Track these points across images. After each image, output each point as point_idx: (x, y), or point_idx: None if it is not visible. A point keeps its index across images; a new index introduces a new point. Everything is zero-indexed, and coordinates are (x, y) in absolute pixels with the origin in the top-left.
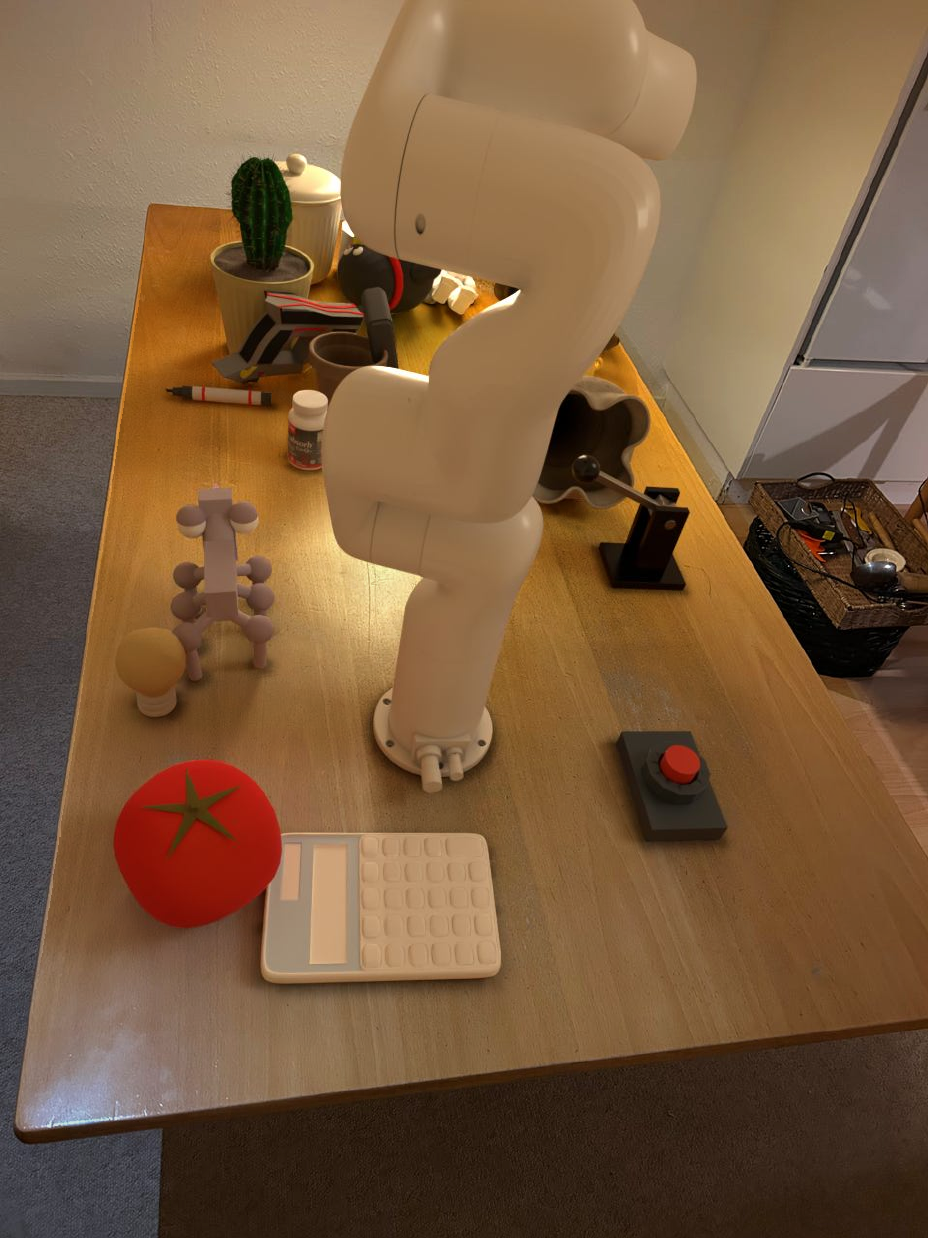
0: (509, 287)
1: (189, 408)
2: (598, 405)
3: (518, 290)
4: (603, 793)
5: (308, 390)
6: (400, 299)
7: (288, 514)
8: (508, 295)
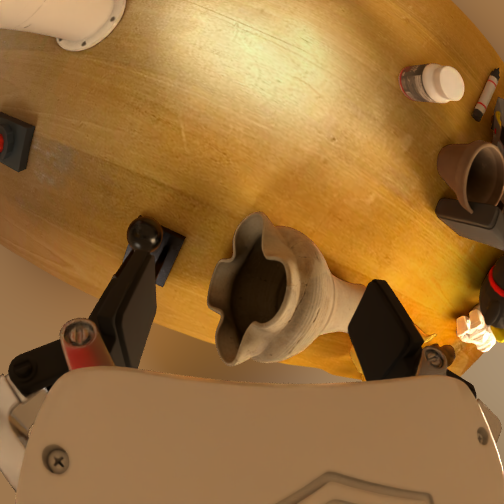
0: (419, 334)
1: (483, 68)
2: (252, 329)
3: (394, 349)
4: (19, 102)
5: (462, 93)
6: (490, 284)
7: (354, 20)
8: (407, 317)
